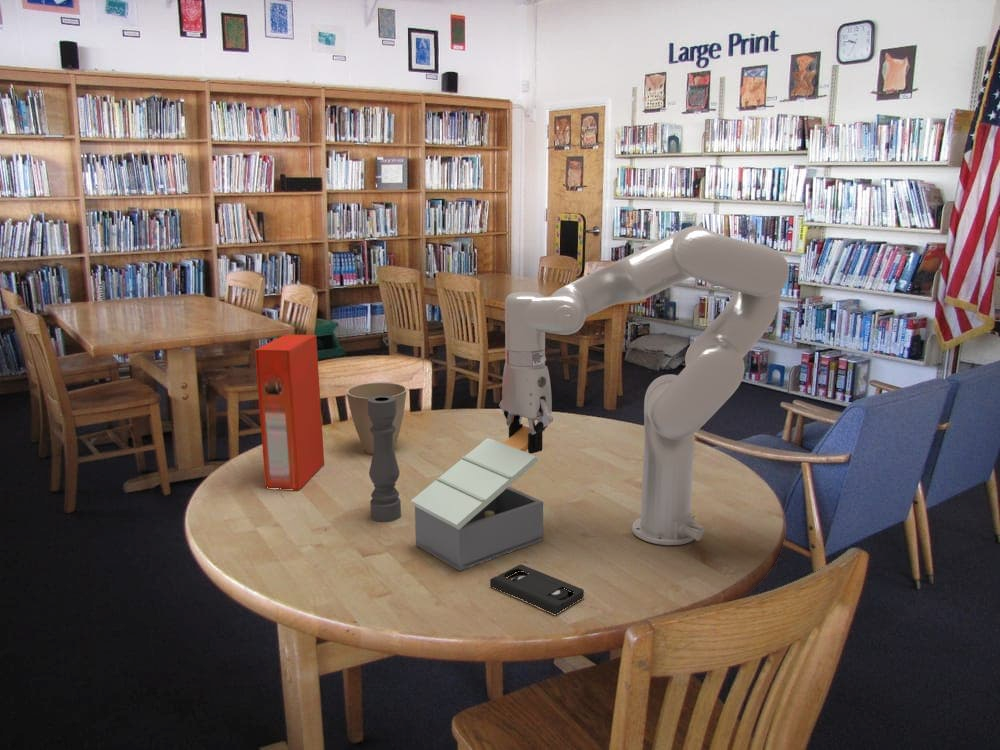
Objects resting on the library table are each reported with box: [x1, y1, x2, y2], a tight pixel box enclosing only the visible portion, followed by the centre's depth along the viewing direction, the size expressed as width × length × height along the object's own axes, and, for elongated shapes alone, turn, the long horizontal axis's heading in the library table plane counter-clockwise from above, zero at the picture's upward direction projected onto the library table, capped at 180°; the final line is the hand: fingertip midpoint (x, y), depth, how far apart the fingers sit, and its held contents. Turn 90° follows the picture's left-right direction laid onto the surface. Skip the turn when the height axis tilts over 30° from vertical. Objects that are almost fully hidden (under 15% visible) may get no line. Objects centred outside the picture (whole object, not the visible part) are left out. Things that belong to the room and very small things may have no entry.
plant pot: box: [346, 382, 407, 455], centre depth 214 cm, size 15×15×16 cm
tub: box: [414, 486, 544, 572], centre depth 162 cm, size 14×20×8 cm
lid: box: [410, 425, 544, 530], centre depth 160 cm, size 14×26×2 cm, turn 129°
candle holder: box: [367, 396, 402, 523], centre depth 172 cm, size 6×6×25 cm
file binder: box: [254, 334, 325, 491], centre depth 194 cm, size 8×17×32 cm, turn 173°
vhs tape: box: [489, 564, 585, 614], centre depth 144 cm, size 14×8×2 cm, turn 48°
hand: (525, 447), depth 166 cm, fingers closed on lid, 5 cm apart
